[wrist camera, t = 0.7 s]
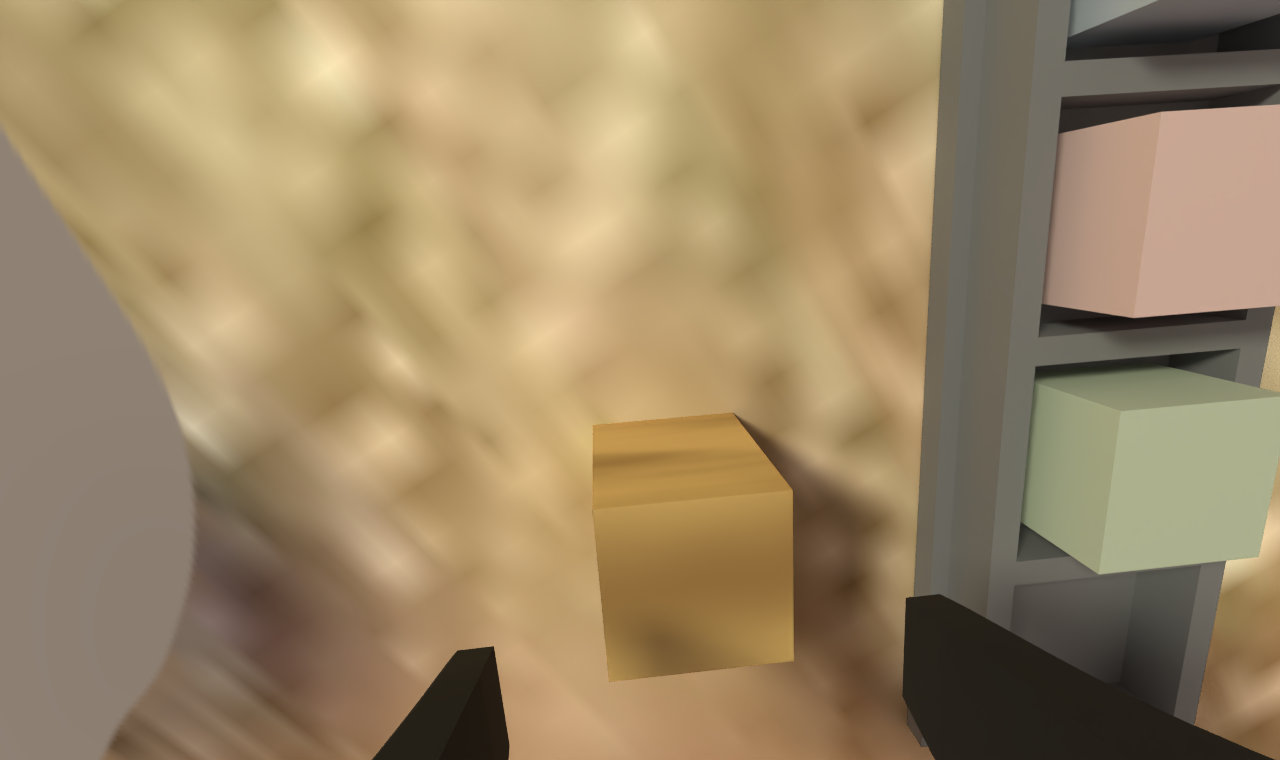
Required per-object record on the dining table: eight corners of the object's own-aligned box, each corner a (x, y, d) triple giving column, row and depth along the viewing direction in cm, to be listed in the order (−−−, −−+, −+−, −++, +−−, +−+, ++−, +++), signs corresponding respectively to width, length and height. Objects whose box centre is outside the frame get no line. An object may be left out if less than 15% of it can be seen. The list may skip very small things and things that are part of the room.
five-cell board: (1125, 698, 23) (1267, 821, 18) (907, 724, 23) (993, 858, 18) (1329, -594, 14) (1713, -1025, 9) (974, -598, 14) (1184, -1056, 9)
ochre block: (736, 538, 20) (793, 660, 14) (604, 551, 20) (609, 682, 14) (732, 412, 19) (793, 489, 13) (592, 424, 19) (592, 509, 13)
